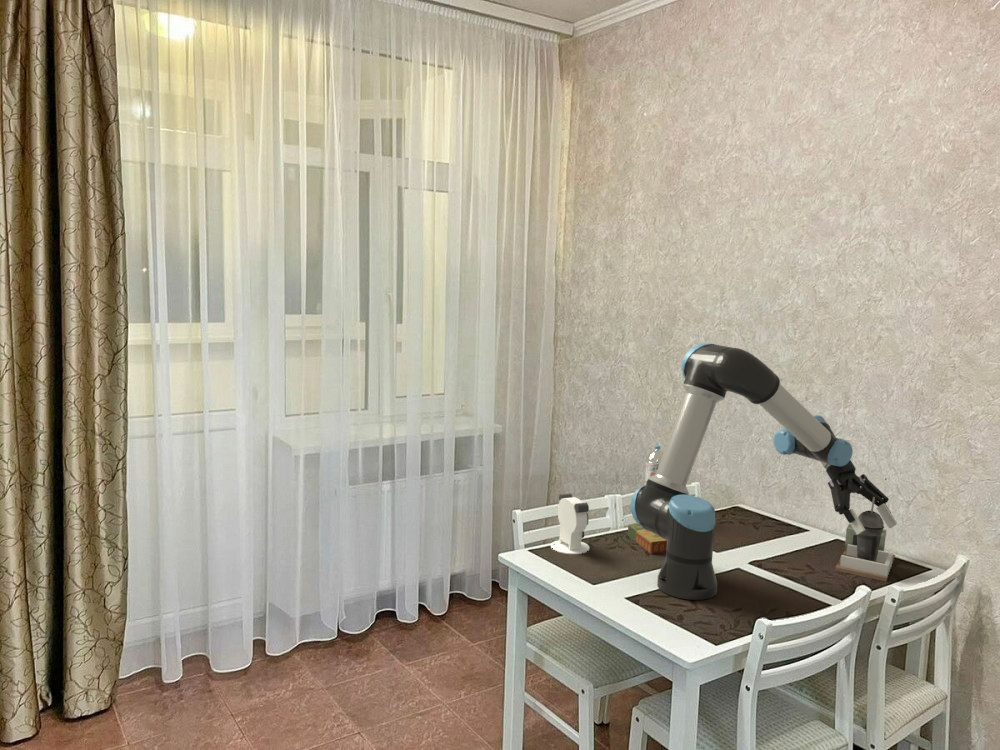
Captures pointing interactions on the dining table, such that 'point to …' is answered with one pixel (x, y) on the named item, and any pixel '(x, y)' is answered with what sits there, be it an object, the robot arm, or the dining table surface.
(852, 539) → the desk organizer
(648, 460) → the water bottle
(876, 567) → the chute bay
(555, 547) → the white upright piece
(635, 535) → the carton
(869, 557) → the beverage cup
